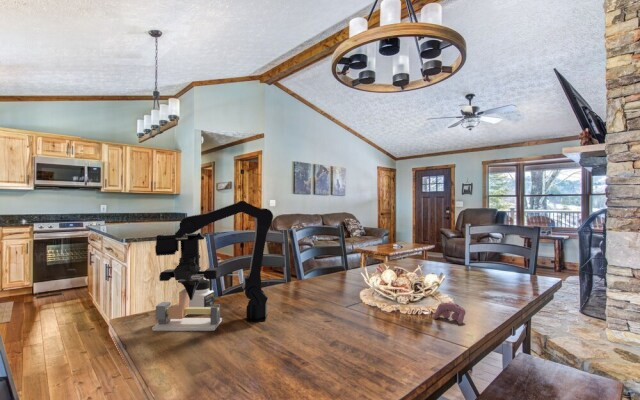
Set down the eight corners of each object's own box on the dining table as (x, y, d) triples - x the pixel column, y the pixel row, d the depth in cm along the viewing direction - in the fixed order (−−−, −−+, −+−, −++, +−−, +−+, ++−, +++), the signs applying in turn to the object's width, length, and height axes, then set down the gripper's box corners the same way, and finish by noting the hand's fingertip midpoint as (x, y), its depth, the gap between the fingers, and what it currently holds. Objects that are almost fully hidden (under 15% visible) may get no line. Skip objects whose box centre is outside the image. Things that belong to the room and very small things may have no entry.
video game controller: (464, 327, 116) (468, 307, 119) (460, 324, 113) (464, 303, 116) (437, 320, 123) (440, 301, 125) (432, 317, 120) (436, 298, 122)
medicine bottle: (204, 314, 123) (204, 282, 123) (186, 313, 124) (187, 281, 124) (214, 308, 130) (214, 278, 130) (197, 307, 131) (197, 277, 131)
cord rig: (222, 320, 117) (222, 300, 117) (214, 330, 108) (214, 308, 108) (164, 320, 116) (164, 300, 116) (152, 330, 107) (152, 308, 107)
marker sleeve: (189, 313, 115) (189, 287, 115) (182, 319, 109) (182, 292, 109) (177, 313, 115) (177, 287, 115) (169, 319, 109) (170, 292, 109)
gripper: (150, 258, 104) (151, 308, 104) (210, 256, 104) (211, 306, 104) (166, 253, 115) (167, 298, 115) (220, 251, 115) (221, 296, 115)
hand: (191, 299), depth 112 cm, fingers closed
